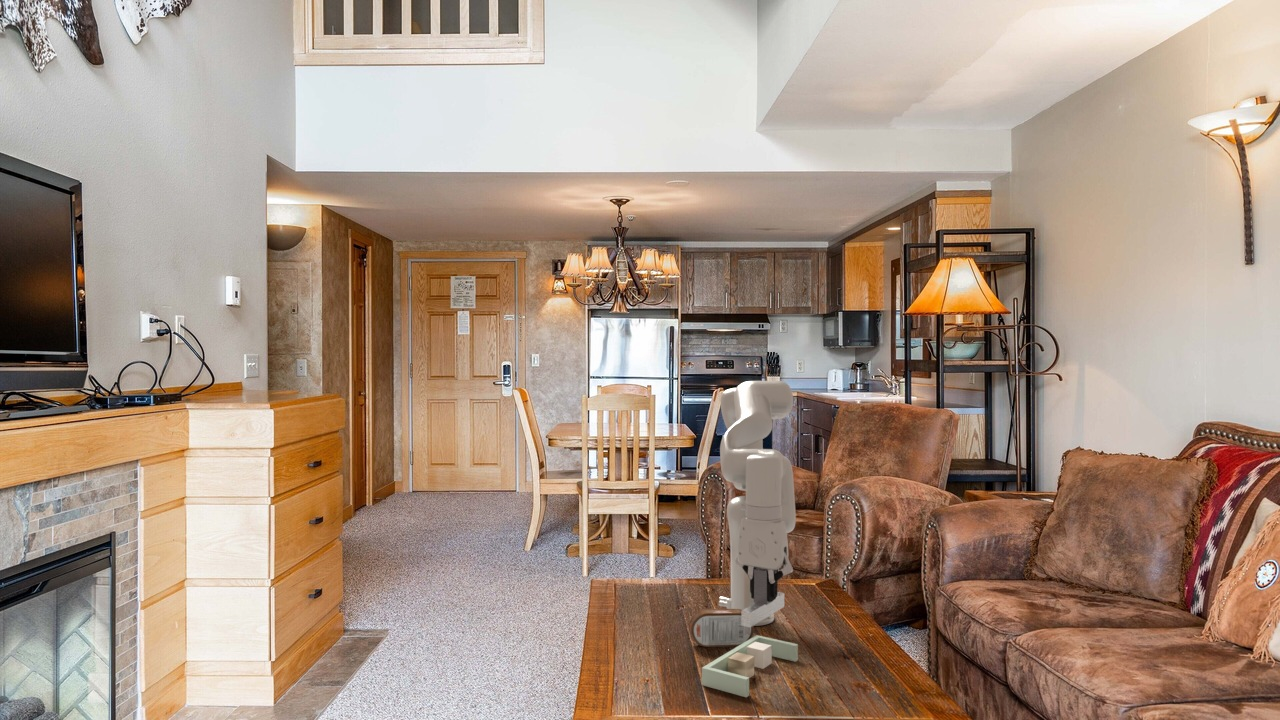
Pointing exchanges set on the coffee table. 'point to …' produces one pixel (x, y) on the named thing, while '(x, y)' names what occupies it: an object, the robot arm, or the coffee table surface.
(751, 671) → the maple block
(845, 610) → the coffee table surface
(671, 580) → the coffee table surface
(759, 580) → the slider lever
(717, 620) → the tin
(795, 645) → the block corral
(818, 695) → the coffee table surface
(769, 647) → the cream block
